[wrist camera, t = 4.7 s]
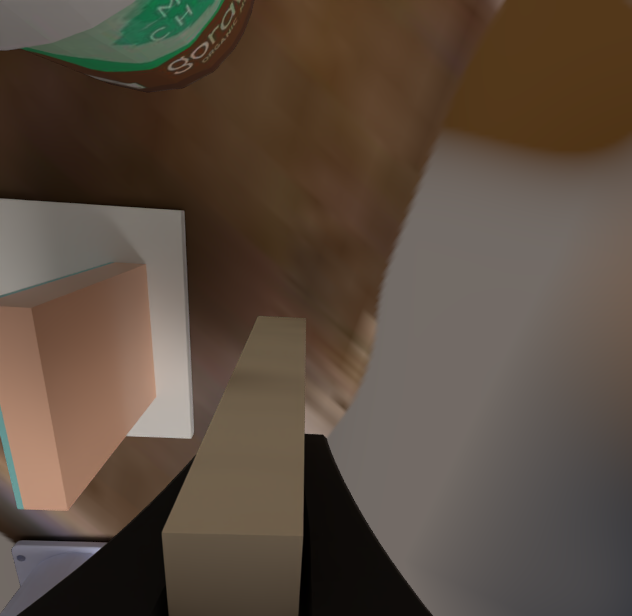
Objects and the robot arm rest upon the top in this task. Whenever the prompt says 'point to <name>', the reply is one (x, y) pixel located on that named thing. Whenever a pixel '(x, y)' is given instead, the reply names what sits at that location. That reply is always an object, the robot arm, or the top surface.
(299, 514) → the beige upright block
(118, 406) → the tile
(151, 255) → the mat
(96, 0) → the food container
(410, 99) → the top surface
